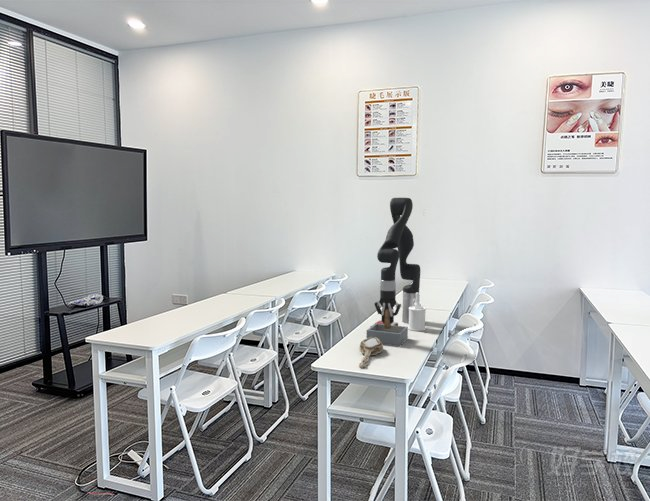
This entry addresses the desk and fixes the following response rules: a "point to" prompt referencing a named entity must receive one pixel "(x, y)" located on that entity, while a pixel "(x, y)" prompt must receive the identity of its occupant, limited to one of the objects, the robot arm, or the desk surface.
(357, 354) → the desk surface
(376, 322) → the calculator
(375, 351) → the hand mirror
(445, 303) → the desk surface
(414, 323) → the white cylindrical bottle
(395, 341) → the grey open box
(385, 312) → the peg
